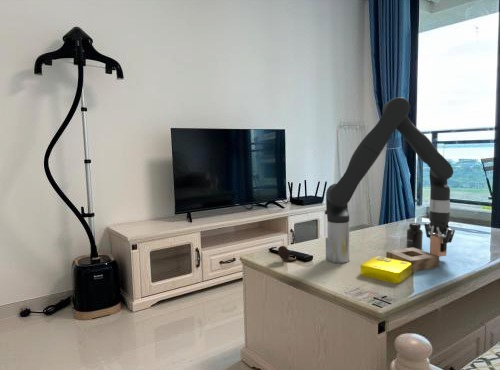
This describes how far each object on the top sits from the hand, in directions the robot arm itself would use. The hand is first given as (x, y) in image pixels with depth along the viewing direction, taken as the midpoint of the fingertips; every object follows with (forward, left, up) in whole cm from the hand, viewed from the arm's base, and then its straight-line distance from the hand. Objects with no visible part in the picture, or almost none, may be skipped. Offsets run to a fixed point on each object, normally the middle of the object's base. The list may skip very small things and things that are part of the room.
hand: (438, 249), depth 150 cm
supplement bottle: (+3, +17, -5) cm, 18 cm away
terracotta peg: (0, 0, -2) cm, 2 cm away
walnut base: (-14, 0, -4) cm, 14 cm away
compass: (-58, +26, -5) cm, 64 cm away
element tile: (-30, -5, -5) cm, 31 cm away
